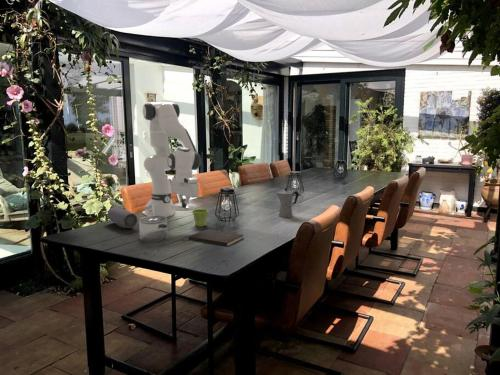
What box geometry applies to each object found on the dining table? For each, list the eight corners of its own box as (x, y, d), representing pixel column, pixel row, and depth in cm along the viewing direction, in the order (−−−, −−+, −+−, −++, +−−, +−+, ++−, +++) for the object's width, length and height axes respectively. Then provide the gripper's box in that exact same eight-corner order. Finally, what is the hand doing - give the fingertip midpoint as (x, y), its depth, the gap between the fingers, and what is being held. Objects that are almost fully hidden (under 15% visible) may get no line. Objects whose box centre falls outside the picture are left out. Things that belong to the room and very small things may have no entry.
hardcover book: (207, 233, 221) (207, 229, 220) (243, 239, 210) (243, 234, 209) (189, 240, 207) (188, 236, 207) (227, 247, 196) (227, 242, 196)
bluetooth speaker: (139, 228, 228) (138, 211, 226) (123, 231, 222) (122, 213, 220) (122, 221, 245) (121, 205, 243) (106, 223, 239) (105, 207, 237)
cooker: (130, 236, 212) (129, 217, 210) (154, 231, 222) (153, 213, 221) (153, 244, 198) (152, 224, 196) (177, 238, 208) (176, 219, 207)
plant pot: (193, 228, 229) (193, 213, 228) (191, 223, 238) (191, 209, 237) (210, 226, 232) (209, 212, 230) (207, 222, 241) (207, 208, 239)
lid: (165, 207, 221) (165, 198, 220) (188, 203, 231) (188, 195, 230) (180, 212, 210) (179, 203, 209) (203, 208, 220) (203, 199, 219)
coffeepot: (278, 218, 253) (278, 189, 250) (273, 214, 262) (273, 187, 259) (301, 216, 257) (301, 188, 254) (295, 213, 266) (295, 186, 263)
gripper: (167, 176, 222) (168, 201, 225) (191, 180, 208) (191, 207, 211) (177, 175, 227) (177, 199, 229) (200, 179, 213) (200, 205, 215)
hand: (184, 203), depth 220 cm, fingers closed on lid, 3 cm apart
